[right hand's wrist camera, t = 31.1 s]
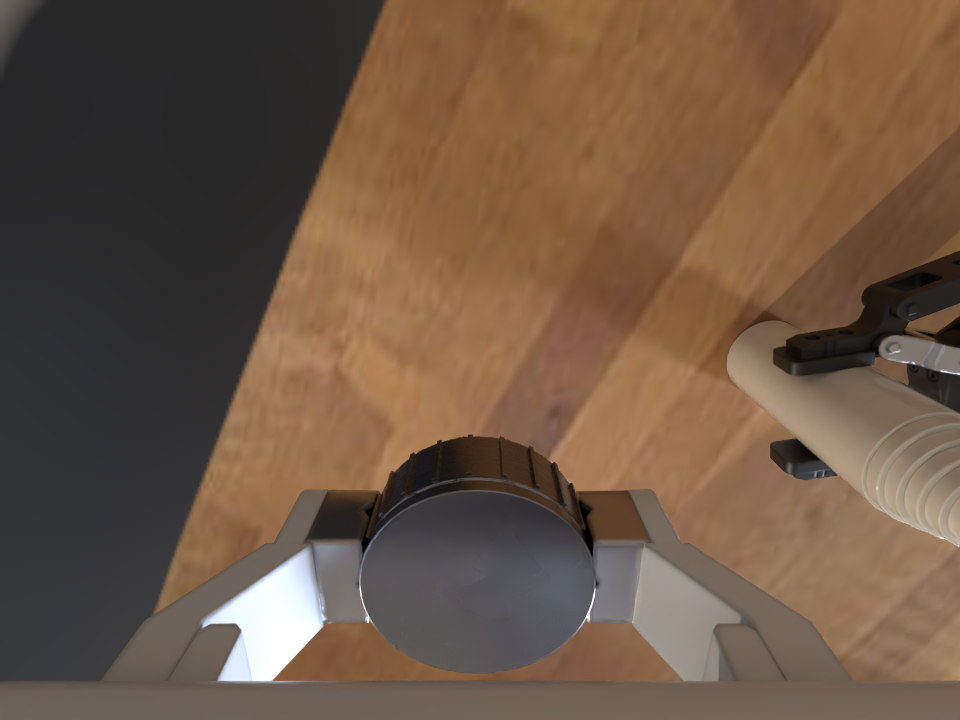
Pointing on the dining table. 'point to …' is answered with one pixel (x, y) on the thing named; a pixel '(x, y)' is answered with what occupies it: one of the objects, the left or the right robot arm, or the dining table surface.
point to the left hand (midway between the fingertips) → (780, 412)
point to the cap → (477, 557)
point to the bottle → (861, 430)
